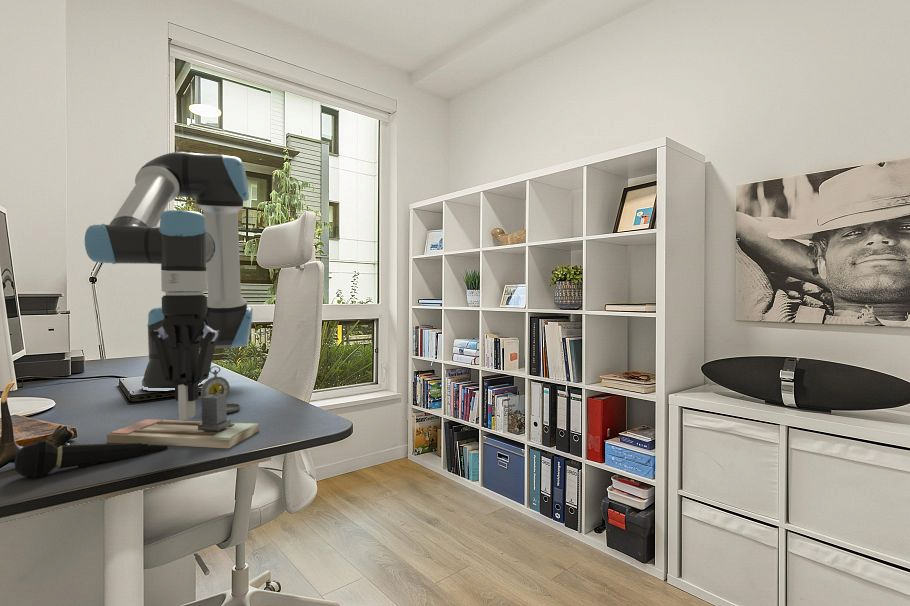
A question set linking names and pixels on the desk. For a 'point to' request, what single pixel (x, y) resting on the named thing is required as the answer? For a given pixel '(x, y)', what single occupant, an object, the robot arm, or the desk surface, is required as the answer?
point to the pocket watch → (218, 389)
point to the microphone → (74, 455)
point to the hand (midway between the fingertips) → (187, 417)
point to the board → (182, 434)
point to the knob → (214, 413)
